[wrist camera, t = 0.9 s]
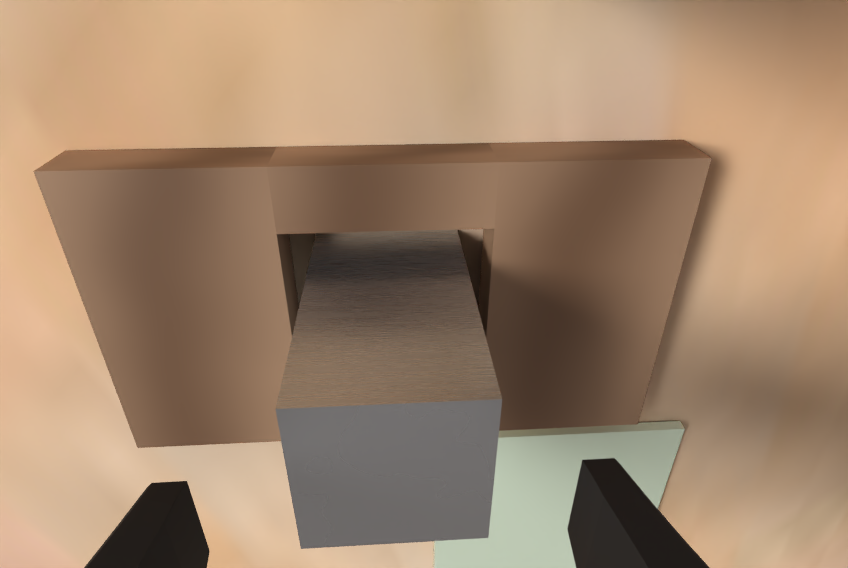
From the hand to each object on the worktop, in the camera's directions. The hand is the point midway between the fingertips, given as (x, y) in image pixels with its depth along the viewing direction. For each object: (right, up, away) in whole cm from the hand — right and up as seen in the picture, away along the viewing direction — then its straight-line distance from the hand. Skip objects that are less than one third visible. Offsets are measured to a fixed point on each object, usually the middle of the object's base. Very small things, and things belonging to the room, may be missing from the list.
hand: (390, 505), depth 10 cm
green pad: (+6, -5, +12) cm, 14 cm away
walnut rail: (0, +4, +6) cm, 8 cm away
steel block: (0, +4, +6) cm, 8 cm away
